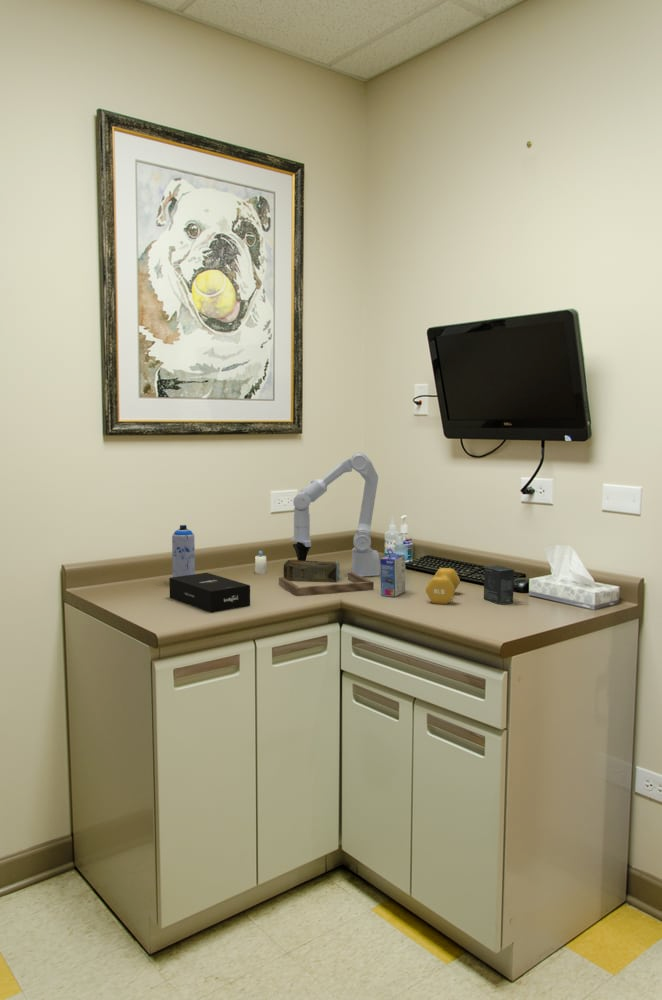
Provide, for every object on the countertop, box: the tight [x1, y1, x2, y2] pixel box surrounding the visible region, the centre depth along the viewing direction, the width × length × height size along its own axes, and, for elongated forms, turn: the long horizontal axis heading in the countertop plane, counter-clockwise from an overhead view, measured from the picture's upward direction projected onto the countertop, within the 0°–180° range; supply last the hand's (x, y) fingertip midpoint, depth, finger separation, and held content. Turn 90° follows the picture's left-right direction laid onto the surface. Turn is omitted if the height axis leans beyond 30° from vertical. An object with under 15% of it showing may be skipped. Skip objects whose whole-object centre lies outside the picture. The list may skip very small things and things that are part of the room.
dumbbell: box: [425, 567, 461, 605], centre depth 240 cm, size 19×9×8 cm, turn 164°
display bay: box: [278, 571, 375, 597], centre depth 255 cm, size 27×18×2 cm, turn 112°
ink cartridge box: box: [379, 548, 406, 598], centre depth 246 cm, size 10×6×14 cm, turn 155°
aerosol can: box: [171, 524, 196, 577], centre depth 259 cm, size 8×8×20 cm
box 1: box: [168, 572, 251, 613], centre depth 234 cm, size 25×14×7 cm, turn 40°
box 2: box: [483, 564, 515, 605], centre depth 236 cm, size 8×6×11 cm
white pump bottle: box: [254, 550, 267, 575], centre depth 279 cm, size 4×4×8 cm
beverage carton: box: [283, 559, 341, 583], centre depth 268 cm, size 8×19×7 cm, turn 82°
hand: (301, 563), depth 277 cm, fingers closed
